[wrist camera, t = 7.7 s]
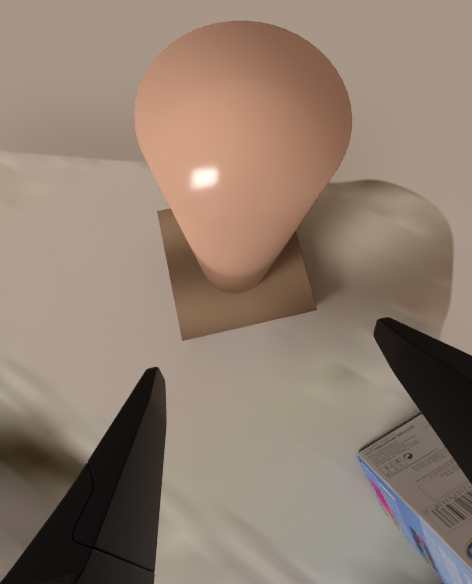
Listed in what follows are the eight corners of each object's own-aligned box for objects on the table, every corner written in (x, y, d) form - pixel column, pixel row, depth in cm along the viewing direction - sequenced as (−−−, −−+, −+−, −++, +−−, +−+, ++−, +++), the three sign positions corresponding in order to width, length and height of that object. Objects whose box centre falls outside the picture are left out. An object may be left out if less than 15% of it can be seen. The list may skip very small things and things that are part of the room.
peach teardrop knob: (227, 306, 18) (217, 260, 5) (188, 252, 19) (92, 87, 6) (281, 267, 19) (396, 137, 6) (242, 216, 19) (266, -13, 6)
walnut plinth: (304, 312, 21) (316, 310, 18) (189, 338, 21) (182, 340, 18) (276, 204, 23) (283, 185, 20) (167, 226, 22) (157, 211, 19)
